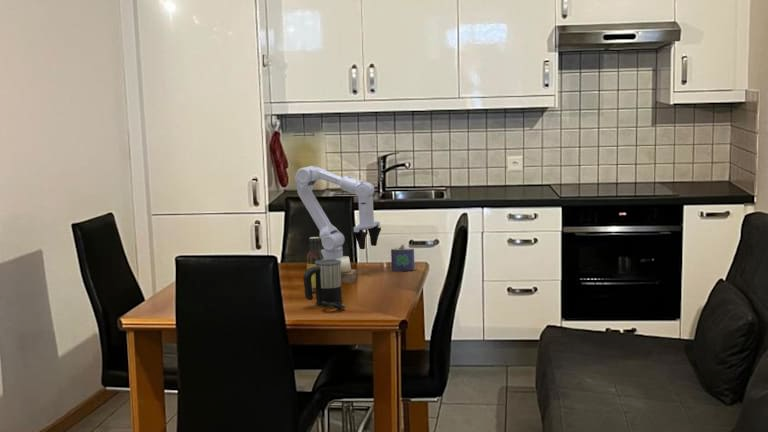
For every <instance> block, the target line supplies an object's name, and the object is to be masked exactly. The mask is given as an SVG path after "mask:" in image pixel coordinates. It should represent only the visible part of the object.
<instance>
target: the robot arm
mask: <svg viewBox="0 0 768 432" xmlns="http://www.w3.org/2000/svg"><path fill="white" fill-rule="evenodd" d="M318 180H323V181H326V182H329V183H332V184H335V185H338V186H339V188H340V189H341V190H343V191H345V192H347V193H351V194H353V195H356V197H358V198H357V199H358V218H359V220H358V221H359V224H358V225H356V226H353V231H352V234H353V236H354V237H355V239H356V241H357V245H358V247H359V249H360V250H365V249H366V239H367V234H369V239H370V246H372V247H376V246H377V244H378V238H379V235H380V233H381V231H382V227H381V223H380V222H381V221H375V218H374V217H375V216H374V197H373V195H374V193H375V187H374V184H373V183H371V182H369V181H364V180H362V179H360V180H359V179H356V178H354V177H353V176H352V175H351V174H350V175H345V176H343V177H342V176H340V175H338V174H336V173H333V172H331V171H328V170H326V169H324V168H322V167H318V166H315V165H308V166H306V167H300V168H298V169H297V171H296V173H295V176H294V181H295V182H296V189H297V190H296V192H297V194H298V197H299V198H300V200H301V202H302V203H303V205H304V206H305V208H306V211H308V213H309V215H310V217H311V218H312V220H313V222H314V224H315V225H316V227H317V229H318V230H319V237H320V242H321V245H322V247H323V249H320V250H321V253H322V255H323V258H324V260H327V259H335V260H336V259H337V258H339V257H342V256H344V255H343V253H344V251H343V245H344V243H345V239H346V238H345V236H344V234H343V232H341V231H339V230H338V228H337V227H336V226H334V225H333V224H332V223H331V221H330V219H329V218H328V216H327V214H326V213H325V211H324V210H323V207H322V206H321V205H320V203H319V201H318V199H317V197H316V196H315V194H314V192H313V189H314V185H315V184H316V182H317V181H318ZM366 230H367V231H366Z"/></svg>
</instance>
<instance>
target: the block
mask: <svg viewBox="0 0 768 432" xmlns="http://www.w3.org/2000/svg"><path fill="white" fill-rule="evenodd" d="M357 273H358V272H357V269H354V268H353V269H352V268H351V270H350V271H348V272H344V273H341V284H353V283H354V282H356V281H357V279H358V274H357Z"/></svg>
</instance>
